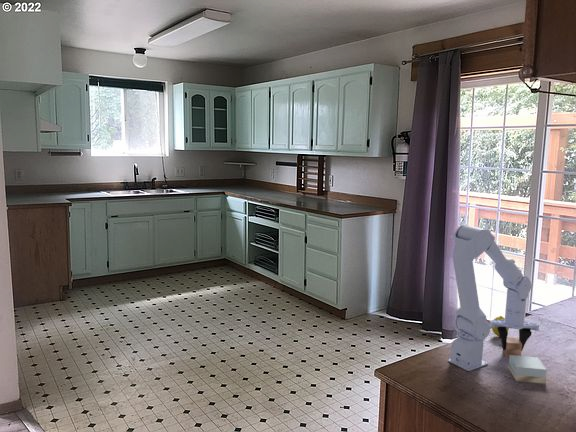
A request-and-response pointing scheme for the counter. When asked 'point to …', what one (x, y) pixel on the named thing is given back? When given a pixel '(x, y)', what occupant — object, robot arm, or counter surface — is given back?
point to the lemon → (496, 327)
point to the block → (513, 347)
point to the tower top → (527, 366)
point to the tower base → (527, 377)
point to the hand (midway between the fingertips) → (511, 349)
